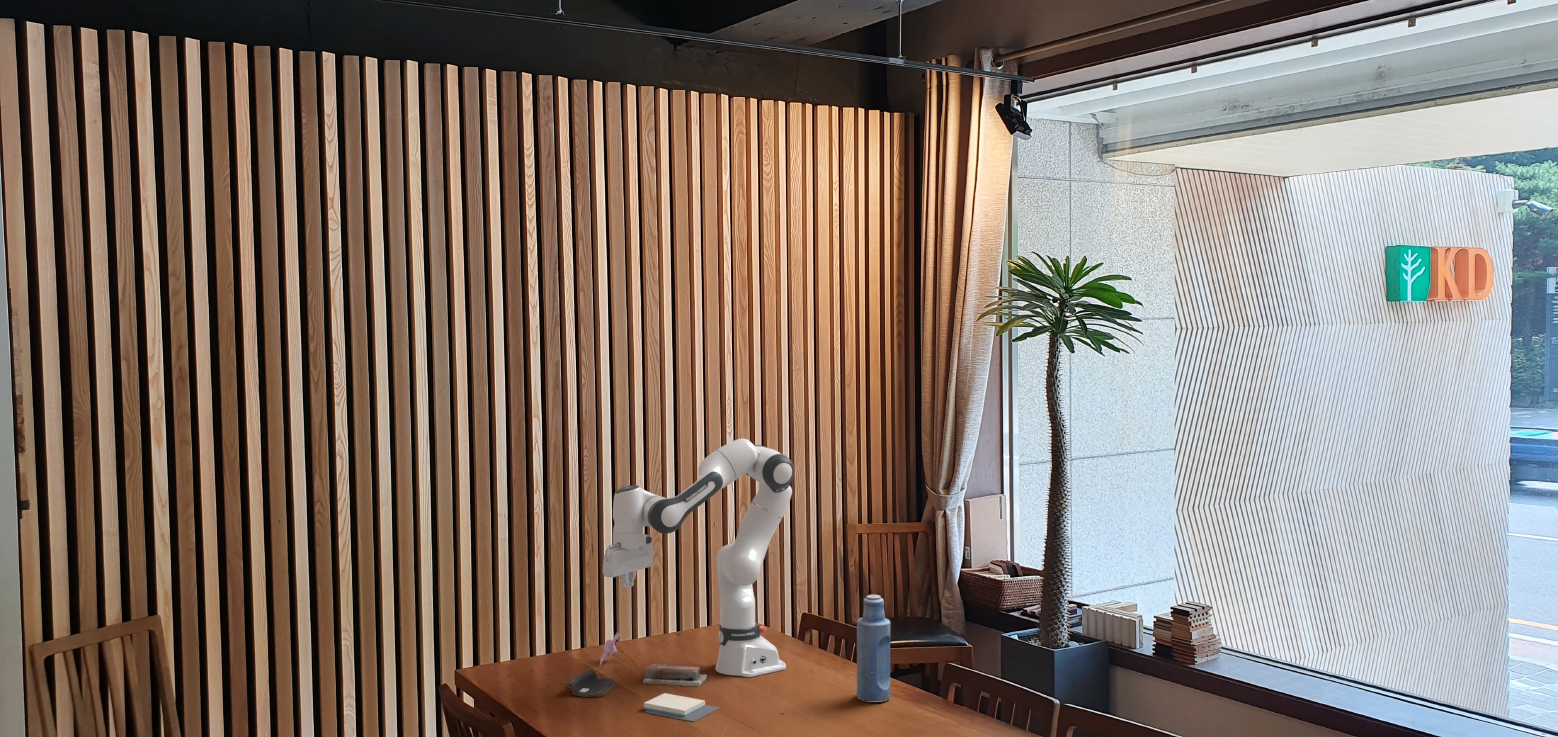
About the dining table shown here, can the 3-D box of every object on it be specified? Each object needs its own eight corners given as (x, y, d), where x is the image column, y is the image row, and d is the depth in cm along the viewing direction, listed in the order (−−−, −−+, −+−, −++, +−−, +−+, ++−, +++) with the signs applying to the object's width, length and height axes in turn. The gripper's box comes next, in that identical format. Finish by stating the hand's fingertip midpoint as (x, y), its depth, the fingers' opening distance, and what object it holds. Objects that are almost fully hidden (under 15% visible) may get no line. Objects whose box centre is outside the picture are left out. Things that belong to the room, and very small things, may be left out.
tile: (643, 702, 308) (684, 710, 302) (664, 692, 317) (704, 700, 310) (643, 708, 308) (684, 716, 302) (664, 699, 317) (705, 706, 310)
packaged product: (642, 668, 333) (651, 660, 343) (642, 684, 334) (651, 675, 343) (699, 671, 330) (707, 662, 340) (699, 687, 330) (707, 678, 340)
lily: (609, 657, 366) (595, 634, 363) (639, 646, 363) (625, 622, 360) (599, 678, 354) (584, 655, 352) (630, 667, 351) (616, 643, 349)
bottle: (871, 690, 325) (871, 590, 325) (897, 698, 318) (897, 595, 318) (850, 698, 318) (849, 595, 318) (875, 705, 311) (875, 600, 311)
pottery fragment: (599, 699, 319) (599, 685, 319) (562, 696, 322) (562, 681, 322) (619, 684, 333) (619, 670, 333) (582, 681, 336) (583, 667, 336)
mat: (645, 712, 306) (645, 711, 306) (671, 699, 318) (671, 698, 318) (694, 721, 298) (694, 720, 298) (719, 708, 310) (719, 707, 310)
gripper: (614, 546, 315) (615, 594, 315) (656, 536, 333) (656, 581, 333) (597, 545, 318) (597, 592, 318) (639, 534, 336) (640, 579, 336)
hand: (628, 586), depth 326 cm, fingers closed
